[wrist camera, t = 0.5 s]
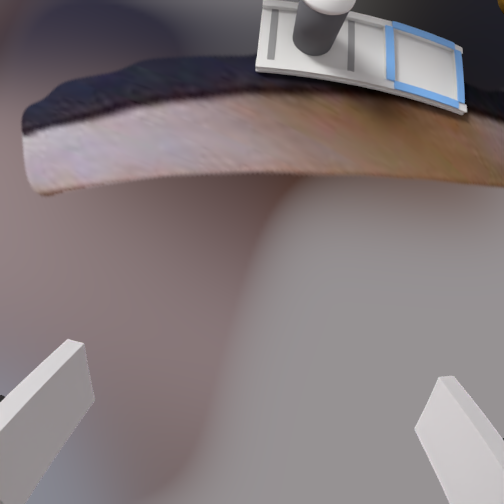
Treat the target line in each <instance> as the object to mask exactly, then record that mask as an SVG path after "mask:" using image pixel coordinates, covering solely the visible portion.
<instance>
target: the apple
mask: <svg viewBox="0 0 504 504" xmlns="http://www.w3.org/2000/svg"><path fill="white" fill-rule="evenodd" d="M498 4H499V7H500V9H501V11H502V12H503V14H504V0H498Z"/></svg>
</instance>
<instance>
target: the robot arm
mask: <svg viewBox="0 0 504 504" xmlns="http://www.w3.org/2000/svg"><path fill="white" fill-rule="evenodd" d="M94 401H95V397H94V393H93V388H92V383H91V378H90V374H89V368H88V363H87V357H86V352H85V345H84V343H81V342H77V341H73V340H70V339H67V340H66V341H65V342H64V343H63V344H62V345H61V346H60V347H58V348H57V349H56V350H55V351H54V352H53V353H52V354H51V355H50V356H49V357H47V358H46V359H45V360H44V361H43V362H42V363H41V364H40V365H39V366H38V367H37V368H36V369H35V370H33V371H32V372H31V373H30V374H29V375H28V376H27V377H26V378H25V379H24V380H23V381H22V382H21V383H20V384H19V385H18V386H17V387H15V388H14V390H12V391H11V393H9V394H8V395H7V396H6V397H4V396H2V395H0V504H25V503H26V502H27V500H28V499H29V497H30V495H31V494H32V492H33V491H34V489H35V488H36V486H37V485H38V483H39V482H40V480H41V478H42V477H43V475H44V474H45V472H46V471H47V469H48V468H49V466H50V465H51V463H52V462H53V460H54V459H55V457H56V456H57V454H58V453H59V451H60V450H61V449H62V447H63V445H64V444H65V443H66V441H67V439H68V438H69V437H70V435H71V434H72V432H73V431H74V430H75V428H76V427H77V425H78V424H79V422H80V421H81V420H82V418H83V416H84V415H85V414H86V412H87V411H88V410H89V408H90V407H91V405H92V404H93V402H94ZM414 430H415V432H416V434H417V436H418V438H419V440H420V442H421V444H422V446H423V448H424V450H425V452H426V454H427V456H428V458H429V460H430V462H431V464H432V467H433V469H434V471H435V473H436V475H437V477H438V479H439V481H440V483H441V486H442V488H443V490H444V492H445V495H446V497H447V499H448V501H449V504H504V438H503V439H502V438H501V436H500V435H499V433H498V432H497V431H496V429H495V428H494V427H493V425H492V424H491V423H490V421H489V420H488V419H487V417H486V416H485V415H484V413H483V412H482V411H481V410H480V408H479V407H478V406H477V404H476V403H475V402H474V401H473V399H472V398H471V397H470V395H469V394H468V393H467V392H466V391H465V389H464V388H463V387H462V386H461V384H460V383H459V382H458V381H457V379H456V378H455V377H454V376H443V377H438V379H437V382H436V384H435V386H434V389H433V391H432V393H431V395H430V398H429V400H428V402H427V404H426V406H425V409H424V410H423V412H422V415H421V416H420V418H419V420H418V423H417V424H416V426H415V428H414Z"/></svg>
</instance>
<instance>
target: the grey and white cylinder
mask: <svg viewBox="0 0 504 504" xmlns="http://www.w3.org/2000/svg"><path fill="white" fill-rule="evenodd" d="M355 2H356V0H299V3H298V8H297V14H296V19H295V25H294V31H293V42H294V45H295V46H296V47H297V48H298V49H299V50H300V51H301V52H303V53H305V54H307V55H311V56H320V55H323V54H325V53H327V52H328V51H329V50H330V49H331V47H332V45H333V43H334V41H335V39H336V37H337V35H338V33H339V31H340V29H341V27H342V25H343V23H344V21H345V19H346V17H347V15H348V13H349V11H350V10H351V9H352V7H353V6H354V4H355Z"/></svg>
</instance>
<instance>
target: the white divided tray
mask: <svg viewBox="0 0 504 504" xmlns="http://www.w3.org/2000/svg"><path fill="white" fill-rule="evenodd" d="M298 3H299V2H291V1H281V0H263V5H262V6H263V7H262V8H263V9H262V17H261V26H260V35H259V44H258V53H257V59H256V72H263V73H274V74H284V75H293V76H301V77H308V78H315V79H322V80H328V81H334V82H339V83H345V84H350V85H355V86H360V87H365V88H369V89H374V90H378V91H382V92H386V93H390V94H394V95H398V96H402V97H406V98H409V99H413V100H416V101H420V102H423V103H426V104H429V105H433V106H436V107H439V108H442V109H445V110H448V111H451V112H453V113H456V114H459V115H463V113H466V112H467V105H465V93H464V78H463V64H462V54H463V49H462V47H460V46H458V45H455V44H454V43H453V42H451V41H448V40H446V39H444V38H441V37H439V36H436V35H434V34H431V33H428V32H426V31H423V30H420V29H417V28H414V27H411V26H408V25H405V24H402V23H399V22H395V21H392V22H391V21H387V20H384V19H380V18H377V17H373V16H369V15H365V14H361V13H356V12H352V11H349V13H348V15H347V17H346V19H345V21H344V23H343V25H342V27H341V29H340V31H339V33H338V35H337V37H336V39H335V41H334V43H333V45H332V47H331V49H330V50H329V51H328V52H327V53H325V54H323V55H320V56H311V55H307V54H305V53H303V52H301V51H300V50H299V49H298V48H297V47H296V46H295V45H294V42H293V31H294V25H295V19H296V14H297V8H298Z"/></svg>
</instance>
